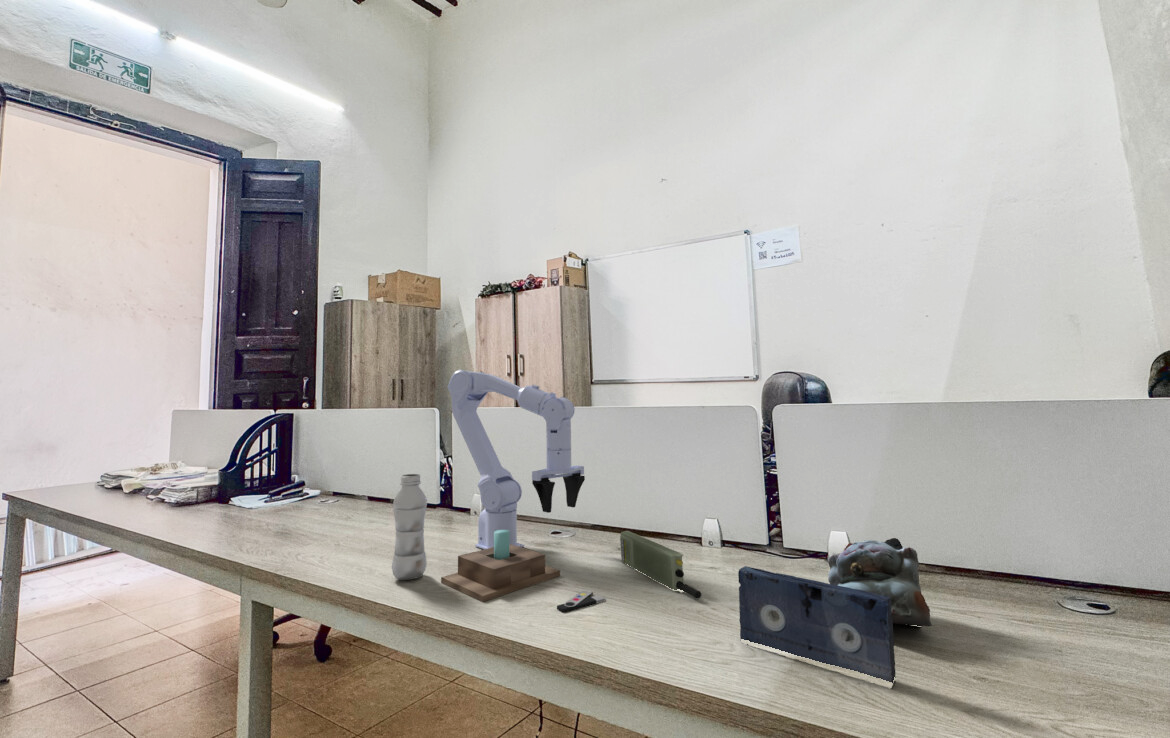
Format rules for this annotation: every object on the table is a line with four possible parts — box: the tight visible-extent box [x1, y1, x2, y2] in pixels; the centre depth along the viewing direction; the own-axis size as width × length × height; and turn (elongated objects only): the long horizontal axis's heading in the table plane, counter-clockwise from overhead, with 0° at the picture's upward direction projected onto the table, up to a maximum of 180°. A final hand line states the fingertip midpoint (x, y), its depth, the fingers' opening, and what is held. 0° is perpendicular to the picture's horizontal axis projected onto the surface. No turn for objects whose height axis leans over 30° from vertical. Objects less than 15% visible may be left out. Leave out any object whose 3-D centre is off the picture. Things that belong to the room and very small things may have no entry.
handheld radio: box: [619, 530, 702, 600], centre depth 94 cm, size 7×3×25 cm
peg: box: [494, 530, 510, 560], centre depth 96 cm, size 3×3×8 cm
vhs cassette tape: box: [737, 565, 896, 683], centre depth 64 cm, size 18×3×10 cm, turn 48°
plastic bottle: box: [391, 473, 428, 581], centre depth 97 cm, size 6×7×20 cm
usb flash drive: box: [556, 590, 606, 614], centre depth 83 cm, size 9×5×1 cm, turn 124°
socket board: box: [440, 544, 561, 603], centre depth 95 cm, size 14×18×4 cm
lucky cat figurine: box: [827, 537, 933, 627], centre depth 76 cm, size 15×12×14 cm
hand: (559, 509), depth 112 cm, fingers open, 7 cm apart
